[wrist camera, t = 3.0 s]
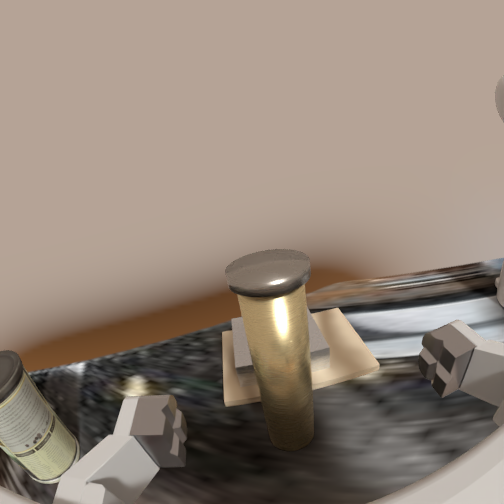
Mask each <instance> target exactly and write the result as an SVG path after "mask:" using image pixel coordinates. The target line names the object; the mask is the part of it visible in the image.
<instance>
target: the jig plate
mask: <svg viewBox="0 0 504 504" xmlns="http://www.w3.org/2000/svg"><path fill="white" fill-rule="evenodd" d="M311 315H312V317H313V319H314V320H315V322H316V324H317V326H318V327H319V329H320V331H321V333H322V335H323V336H324V338H325V340H326V342H327V344H328V345H329V347H330V368H327V369H323V370H319V371H315V372H312V390H314V389H318V388H322V387H326V386H329V385H333V384H336V383H340V382H343V381H346V380H350V379H353V378H356V377H359V376H362V375H365V374H368V373H371V372H374V371H377V370H379V363H378V362H377V360H376V359H375V357H374V356H373V355H372V353H371V352H370V350H369V349H368V348H367V346H366V345H365V344H364V342H363V341H362V340H361V338H360V337H359V335H358V334H357V333H356V331H355V330H354V329H353V327H352V326H351V325H350V323H349V322H348V321H347V319H346V318H345V317H344V315H343V314H342V313H341V311H340V310H339V309H338V308H335V309H331V310H327V311H322V312H318V313H314V314H311ZM222 346H223V382H224V403H225V405H226V407H229V406H236V405H242V404H248V403H254V402H260V401H261V399H260V394H259V390H258V386H257V384H256V385H251V386H245V387H241V386H240V383H239V379H238V375H237V372H236V368H235V357H234V345H233V332H232V330H231V331H225V332H222Z"/></svg>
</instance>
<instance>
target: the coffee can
mask: <svg viewBox="0 0 504 504" xmlns="http://www.w3.org/2000/svg"><path fill="white" fill-rule="evenodd" d="M0 447H1V448H2V449H3V450H4V451H5V452H6V453H7V454H8V455H9V456H10V457H11V458H12V459H13V460H14V461H15V462H16V463H17V464H18V465H19V466H20V467H21V468H22V469H23V470H24V471H26V472H27V473H28V474H29V475H30V476H31V477H32V478H33V479H34V480H36V481H38V482H40V483H44V484H52V483H56V482H59V481H60V479H61V476H62V474H64V473H65V472H66V471H67V470H68V469H70V468H71V467H72V466H73V465H74V464H76V463H77V462H78V460H79V455H80V448H79V443H78V441H77V439H76V437H75V436H74V435H73V434H72V433H71V432H70V431H69V430H68V429H67V427H66V426H65V425H64V424H63V422H62V421H61V420H60V419H59V417H58V416H57V415H56V414H55V412H54V411H53V410H52V408H51V407H50V405H49V404H48V403H47V401H46V400H45V398H44V397H43V396H42V394H41V393H40V391H39V390H38V388H37V387H36V385H35V384H34V382H33V381H32V379H31V378H30V376H29V374H28V373H27V371H26V369H25V368H24V366H23V364H22V361H21V359H20V358H19V356H18V354H17V353H15V352H13V351H9V350H8V351H0Z"/></svg>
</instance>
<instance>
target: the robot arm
mask: <svg viewBox="0 0 504 504" xmlns="http://www.w3.org/2000/svg"><path fill="white" fill-rule="evenodd" d="M495 101H496V107H497V110H498V113H499V115H500V117H501V119H502V120H503V122H504V76H503V77H502V78H501V79H500V80H499V82H498V85H497V87H496V92H495ZM495 286H496V287H497V299H498V301H499V303H500V304H501V305H502V306H503V307H504V261H503V265H502V270H501V274H500V277H498V278H496V280H495ZM422 345H423V347H424V348H423V349H422V351H421V352H420V354H419V359H418V364H419V369H420V371H421V373H422V375H423V376H424V377H425V378H426V379H429V380H432V387H433V388H434V389H435V391H436V392H437V393H438V394H439V395H440V397H441V398H442V397H444V396H446V395H448V394H450V393H452V392H454V391H455V390H457V389H459V388H460V389H459V390H462V391H464V392H466V393H468V394H470V395H473V396H475V397H477V398H479V399H482V400H484V401H486V402H488V403H491V404H493V405H495V406H498V407H499V408H498V409H497V411H496V413H495V414H494V416H493V420H494V422H495V423H496V424H497V425H498V427H499V428H498V429H497V430H495V431H494V432H493V433H492V434H490V435H489V436H488V437H486V438H485V439H484V440H482V441H481V442H480V443H478V444H477V445H476V446H474V447H473V448H471V449H470V450H468V451H467V452H466V453H464V454H463V455H461V456H460V457H458V458H456V459H455V460H453V461H452V462H450V463H449V464H447V465H445V466H444V467H442V468H440V469H439V470H437V471H435V472H433V473H432V474H430V475H428V476H426V477H424V478H422V479H420V480H418V481H417V482H415V483H413V484H411V485H409V486H406V487H404V488H402V489H400V490H398V491H396V492H394V493H391V494H389V495H387V496H384V497H382V498H379V499H377V500H374V501H372V502H369V503H367V504H504V343H501V342H497V341H493V340H488V341H486V340H485V339H483V338H482V337H481V336H480V335H478V334H477V333H476V332H475V331H474V330H472V329H471V328H470V327H469V326H467V325H466V324H465V323H464V322H462V321H461V320H455V321H453V322H451V323H449V324H447V325H444V326H442V327H440V328H438V329H435V330H433V331H431V332H429V333H426V334H425V335H424V337H423V340H422ZM176 408H177V402H176V400H175V398H174V396H173V395H157V396H127V397H126V398H125V399H124V400H123V404H122V407H121V410H120V413H119V416H118V420H117V423H116V426H115V430H114V433H113V435H108V436H107V437H106V438H105V439H104V440H102V441H101V442H100V443H99V444H98V445H97V446H96V447H94V448H93V449H92V450H91V451H90V452H89V453H87V454H86V455H85V456H84V457H83V458H82V459H80V460H79V461H78V462H77V463H76V464H74V465H73V466H72V467H71V468H70V469H68V470H67V471H66V472H65V473H64V474H62V476H61V479H60V482H59V485H58V488H57V491H56V495H55V498H54V502H53V504H133V503H134V502H135V501H136V500H137V498H138V497H139V496H140V494H141V493H142V492H143V490H144V489H145V488H146V487H147V485H148V484H149V483H150V481H151V480H152V479H153V477H154V476H155V475H156V473H157V472H158V471H159V469H160V468H159V467H185V464H186V449H185V447H184V445H183V443H184V442H185V440H186V439H187V425H186V421H185V418H184V415H183V413H182V412H181V411H179V410H178V409H176ZM0 504H40V503H37V502H35V501H32V500H30V499H27V498H25V497H23V496H21V495H18V494H16V493H14V492H12V491H10V490H8V489H6V488H4V487H2V486H0Z"/></svg>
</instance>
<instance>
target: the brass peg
mask: <svg viewBox="0 0 504 504" xmlns="http://www.w3.org/2000/svg"><path fill="white" fill-rule="evenodd" d="M225 273H226V277H227V282H228V286H229V289H230V290H231V291H232V292H234V293H236V294H237V295H238V300H239V304H240V309H241V313H242V318H243V323H244V328H245V332H246V337H247V341H248V346H249V350H250V355H251V359H252V364H253V368H254V373H255V377H256V381H257V386H258V390H259V394H260V399H261V403H262V407H263V411H264V416H265V420H266V424H267V428H268V432H269V436H270V440H271V442H272V444H273V445H274V446H275V447H277V448H279V449H281V450H284V451H295V450H299V449H302V448H304V447H305V446H307V445H308V444H309V443H310V442H311V440H312V439H313V436H314V414H313V391H312V372H311V356H310V342H309V329H308V316H307V305H306V294H305V283H306V282H307V281H308V280H309V278H310V275H311V271H310V261H309V257H308V256H307V255H306V254H304V253H302V252H299V251H295V250H288V249H275V250H266V251H261V252H256V253H252V254H249V255H246V256H243V257H241V258H239V259H237V260H235V261H233V262H232V263H231V264H230V265H228V266H227V268H226V270H225Z"/></svg>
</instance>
